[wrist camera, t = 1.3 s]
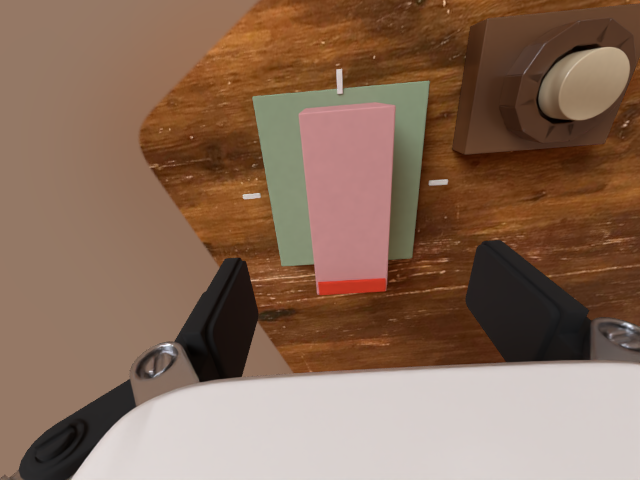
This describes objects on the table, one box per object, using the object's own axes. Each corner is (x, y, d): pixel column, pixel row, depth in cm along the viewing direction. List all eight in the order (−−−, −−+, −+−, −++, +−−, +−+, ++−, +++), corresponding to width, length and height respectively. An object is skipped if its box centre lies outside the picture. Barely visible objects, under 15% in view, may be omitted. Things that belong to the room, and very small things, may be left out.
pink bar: (304, 108, 19) (297, 113, 14) (376, 102, 19) (397, 105, 13) (318, 255, 24) (317, 297, 19) (373, 251, 24) (387, 293, 19)
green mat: (227, 81, 20) (216, 80, 18) (452, 61, 19) (466, 57, 17) (265, 265, 27) (261, 278, 26) (426, 255, 27) (434, 268, 25)
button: (548, 54, 16) (572, 49, 14) (611, 48, 16) (643, 43, 14) (530, 120, 18) (550, 123, 16) (587, 116, 17) (613, 118, 16)
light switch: (470, 26, 18) (505, 9, 15) (625, 11, 18) (701, -10, 14) (451, 149, 22) (476, 160, 18) (579, 139, 22) (629, 148, 18)
